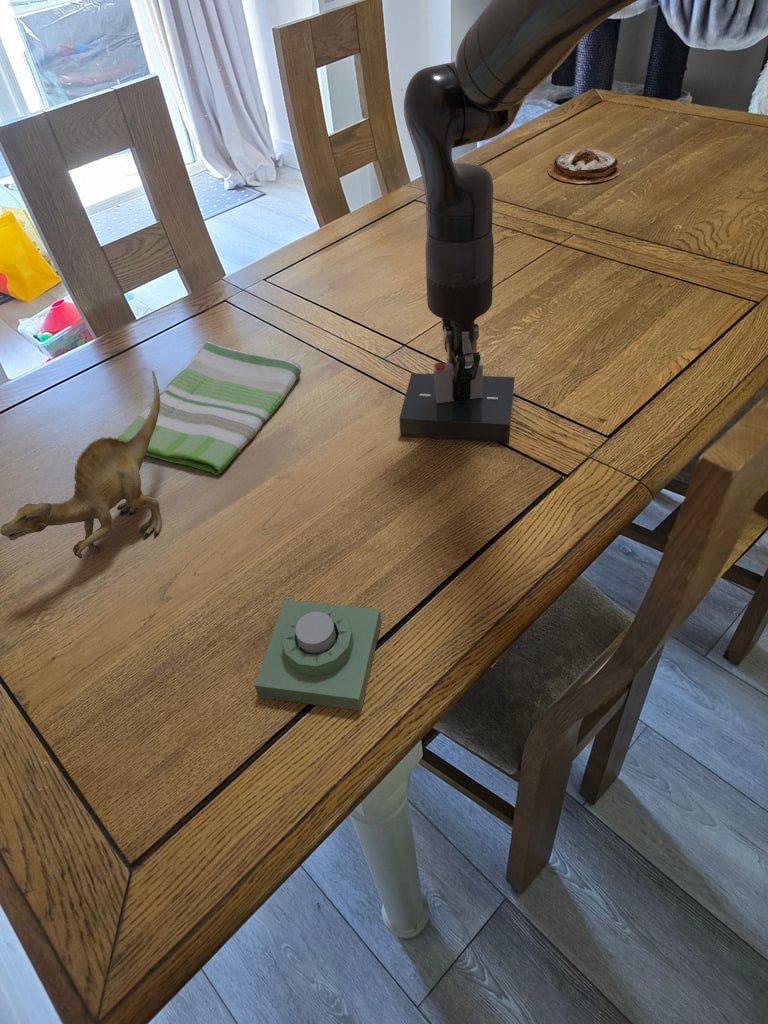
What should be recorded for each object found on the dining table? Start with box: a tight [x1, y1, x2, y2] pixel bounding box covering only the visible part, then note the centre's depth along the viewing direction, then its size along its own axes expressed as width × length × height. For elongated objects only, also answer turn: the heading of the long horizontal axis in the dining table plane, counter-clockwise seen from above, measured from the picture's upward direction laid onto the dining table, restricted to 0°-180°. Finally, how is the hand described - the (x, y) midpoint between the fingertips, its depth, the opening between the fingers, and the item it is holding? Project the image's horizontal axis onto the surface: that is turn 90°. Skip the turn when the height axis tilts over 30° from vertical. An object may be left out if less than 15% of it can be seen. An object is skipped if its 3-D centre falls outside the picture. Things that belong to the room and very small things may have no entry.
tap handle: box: [433, 359, 484, 403], centre depth 89 cm, size 6×2×5 cm, turn 96°
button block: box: [254, 598, 383, 712], centre depth 67 cm, size 10×10×4 cm
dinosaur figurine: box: [0, 370, 163, 559], centre depth 79 cm, size 8×26×13 cm, turn 155°
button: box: [295, 612, 336, 654], centre depth 65 cm, size 4×4×2 cm
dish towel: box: [117, 341, 302, 476], centre depth 97 cm, size 17×23×4 cm
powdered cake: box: [547, 147, 622, 185], centre depth 144 cm, size 15×15×4 cm
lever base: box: [398, 372, 516, 444], centre depth 92 cm, size 14×10×3 cm
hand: (459, 393), depth 90 cm, fingers closed on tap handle
